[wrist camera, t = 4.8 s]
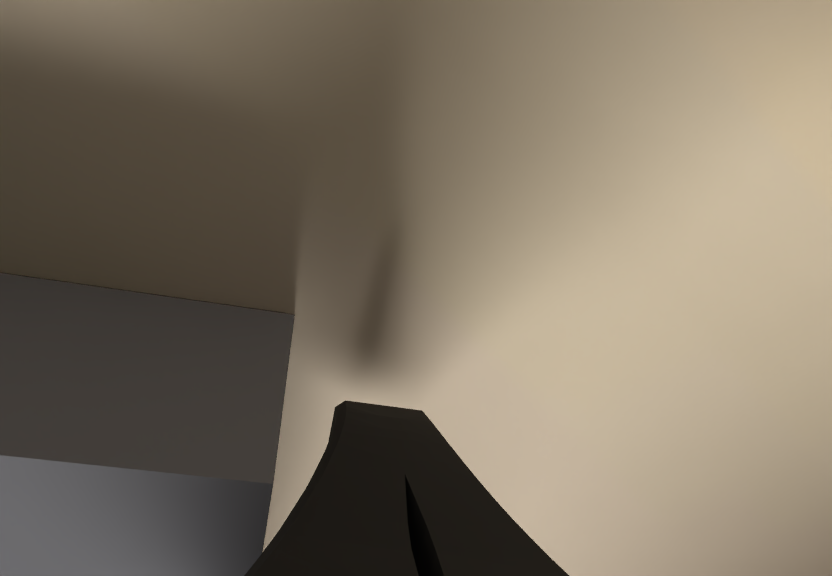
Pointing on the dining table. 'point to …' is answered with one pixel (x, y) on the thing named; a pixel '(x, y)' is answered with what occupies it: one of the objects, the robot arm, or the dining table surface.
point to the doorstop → (135, 431)
